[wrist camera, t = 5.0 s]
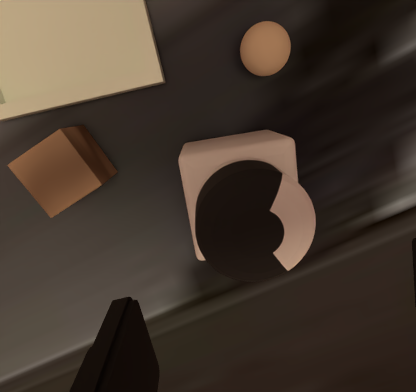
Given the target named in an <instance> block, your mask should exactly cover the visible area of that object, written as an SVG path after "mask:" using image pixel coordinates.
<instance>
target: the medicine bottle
mask: <svg viewBox="0 0 416 392" xmlns="http://www.w3.org/2000/svg"><path fill="white" fill-rule="evenodd" d="M178 162H179V167H180V173H181V178H182V183H183V189H184V194H185V199H186V205H187V210H188V215H189V221H190V226H191V231H192V237H193V242H194V247H195V253H196V256H197V258H198V259H199V260H206V261H207V262H208V263H209V264H210V265H211V266H212V267H213V268H214V269H215V270H217V271H218V272H220V273H221V274H223V275H225V276H227V277H230V278H232V279H235V280H240V281H248V282H257V281H264V280H269V279H272V278H275V277H277V276H280V275H282V274H284V273H285V272H287V271H289V270H290V269H291V268H293V267H294V266H295V265H296V264H297V263H298V262H299V261H300V260H301V259H302V258H303V257H304V255H305V254H306V252H307V251H308V249H309V247H310V245H311V243H312V240H313V237H314V233H315V225H316V222H315V212H314V208H313V205H312V202H311V200H310V198H309V196H308V194H307V193H306V191H305V190H304V189H303V188H302V187H301V186H300V185H299V184H298V176H297V164H296V152H295V142H294V139H292V138H291V137H288V136H285V135H282V134H279V133H276V132H273V131H270V130H260V131H254V132H248V133H242V134H236V135H230V136H224V137H218V138H212V139H206V140H200V141H194V142H188V143H185V144H184V145H183V148H182V151H181V153H180V156H179V160H178Z"/></svg>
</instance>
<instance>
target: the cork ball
mask: <svg viewBox="0 0 416 392" xmlns="http://www.w3.org/2000/svg"><path fill="white" fill-rule="evenodd" d="M290 50H291V43H290V38H289V36H288V34H287V32H286V30H285V29H284V28H283V27H282V26H281V25H279V24H277V23H275V22H271V21H264V22H260V23H257V24H255V25H254V26H252V27H251V28H250V29H249V30H248V31H247V32H246V33H245V35H244V37H243V39H242V42H241V46H240V56H241V60H242V62H243V64H244V66H245V67H246V68H247V69H248V70H249V71H250V72H251V73H253V74H255V75H258V76H269V75H272V74H275V73H276V72H278V71H279V70H280V69H282V67H283V66H284V65H285V64H286V62H287V60H288V58H289V55H290Z"/></svg>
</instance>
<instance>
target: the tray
mask: <svg viewBox="0 0 416 392" xmlns="http://www.w3.org/2000/svg"><path fill="white" fill-rule="evenodd" d="M164 83H166V82H165V78H164V74H163V70H162V66H161V61H160V57H159V53H158V49H157V45H156V41H155V37H154V33H153V29H152V25H151V21H150V17H149V13H148V9H147V5H146V0H0V121H6V120H11V119H15V118H19V117H23V116H28V115H32V114H36V113H40V112H45V111H49V110H53V109H57V108H62V107H66V106H70V105H74V104H79V103H83V102H87V101H91V100H96V99H100V98H104V97H108V96H113V95H117V94H121V93H126V92H130V91H134V90H138V89H143V88H147V87H151V86H155V85H160V84H164Z"/></svg>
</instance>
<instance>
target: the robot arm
mask: <svg viewBox="0 0 416 392" xmlns="http://www.w3.org/2000/svg"><path fill="white" fill-rule="evenodd" d="M412 251H413V269H414V287H415V305H416V238H414V239H413V241H412ZM158 382H159V365H158V361H157V358H156V355H155V352H154V349H153V346H152V343H151V340H150V337H149V333H148V330H147V327H146V324H145V321H144V318H143V315H142V312H141V309H140V306H139V303H138V301H137V300H132V298H131V297H126V298H121V299H117V300H113V301H112V303H111V305H110V307H109V310H108V312H107V314H106V317H105V319H104V321H103V323H102V326H101V328H100V330H99V332H98V335H97V337H96V339H95V342H94V344H93V346H92V347H90V348H89V350H88V352H87V354H86V356H85V358H84V360H83V363H82V365H81V367H80V369H79V372H78V374H77V376H76V378H75V380H74V383H73V385H72V387H71V389H70V392H157V389H158Z"/></svg>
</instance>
